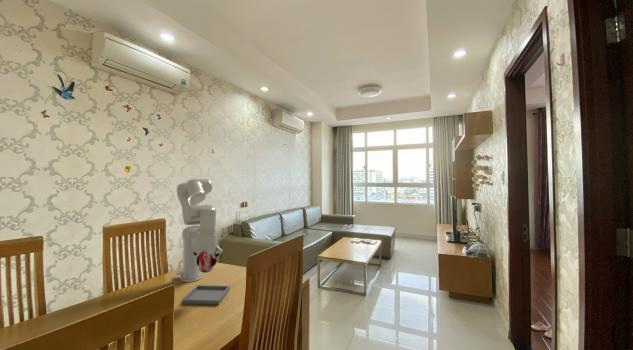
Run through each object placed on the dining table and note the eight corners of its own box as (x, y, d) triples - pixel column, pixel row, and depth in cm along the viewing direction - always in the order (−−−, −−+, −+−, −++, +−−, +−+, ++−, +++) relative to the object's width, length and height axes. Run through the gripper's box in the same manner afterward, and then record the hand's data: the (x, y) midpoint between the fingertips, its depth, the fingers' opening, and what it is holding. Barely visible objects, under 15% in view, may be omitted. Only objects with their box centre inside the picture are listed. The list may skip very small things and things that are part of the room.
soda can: (198, 274, 126) (199, 250, 125) (198, 269, 132) (199, 246, 132) (214, 272, 129) (214, 249, 129) (213, 267, 135) (213, 245, 135)
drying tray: (182, 304, 124) (182, 299, 124) (197, 289, 140) (197, 285, 140) (218, 304, 124) (218, 300, 124) (229, 289, 140) (229, 285, 140)
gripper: (187, 232, 126) (185, 267, 127) (221, 233, 126) (220, 268, 127) (194, 228, 134) (193, 261, 134) (226, 230, 134) (225, 263, 134)
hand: (206, 264), depth 130 cm, fingers closed on soda can, 7 cm apart
